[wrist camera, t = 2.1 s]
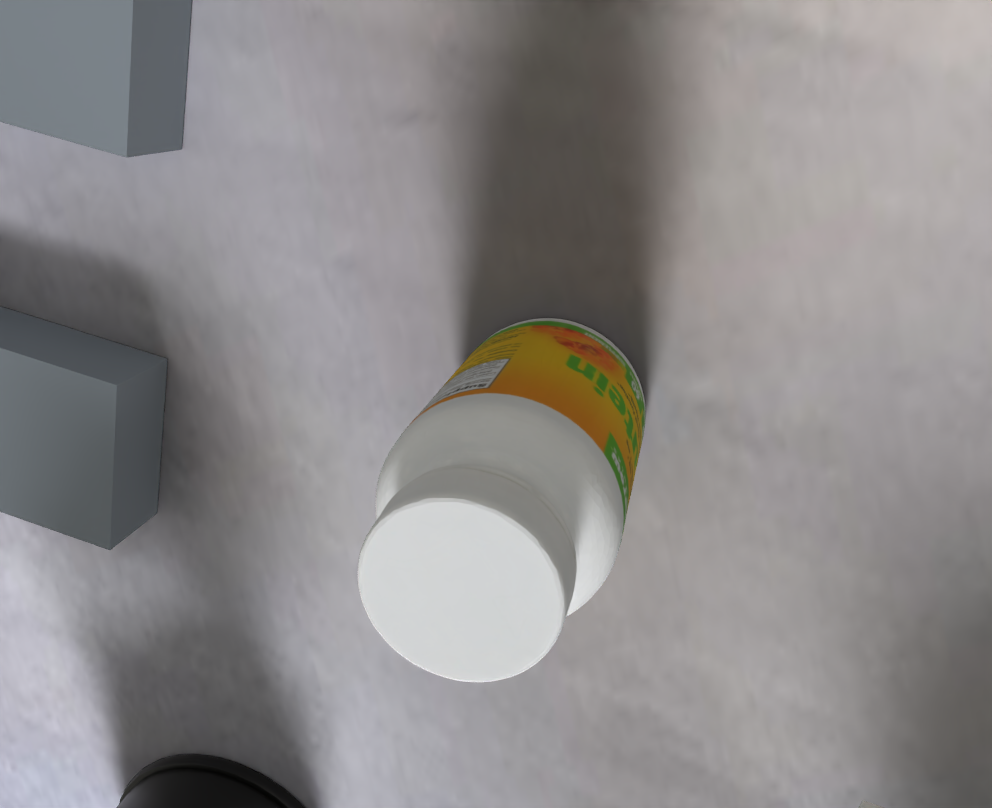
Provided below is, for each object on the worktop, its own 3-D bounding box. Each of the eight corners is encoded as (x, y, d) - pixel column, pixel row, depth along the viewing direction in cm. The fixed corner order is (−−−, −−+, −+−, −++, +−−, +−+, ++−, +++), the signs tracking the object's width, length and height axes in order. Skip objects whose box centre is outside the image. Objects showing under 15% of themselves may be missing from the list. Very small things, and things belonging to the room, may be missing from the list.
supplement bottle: (683, 442, 24) (664, 660, 15) (524, 518, 26) (424, 749, 17) (583, 277, 23) (499, 407, 14) (425, 370, 25) (266, 534, 16)
